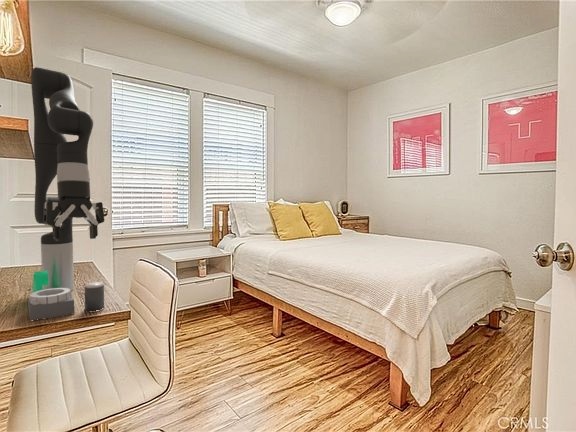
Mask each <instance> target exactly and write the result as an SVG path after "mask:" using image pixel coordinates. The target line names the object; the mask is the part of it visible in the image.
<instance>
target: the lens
mask: <svg viewBox="0 0 576 432" xmlns="http://www.w3.org/2000/svg"><path fill="white" fill-rule="evenodd" d="M102 308H104V309H105V284H104V282H102V281H101V282H97V281H95V282H89V283H86V284H84V312H86V311H87V312H86V313H90V312H89V311H96V310H100V309H102Z"/></svg>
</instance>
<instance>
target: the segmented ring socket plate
mask: <svg viewBox="0 0 576 432" xmlns="http://www.w3.org/2000/svg"><path fill="white" fill-rule="evenodd" d="M27 303H28V304H27V306H28V307H27V308H28V309H27V310H28V311H29V312H28V311H27V312H28V317H29V316H30V317H29V322H30V321H31V320H37V319H43V318H49V319H54V318H58V316H60V317H63V316H62V315H65V316H68V315H67V314H70V315H73V314H72V313H74V314H75V299H74V298H73V296H72V291H71V290H70V289H69V288H51V289H45V290H40V291H36V292H33V291H32V293H30V294H29V297H28V298H27ZM53 317H54V318H53ZM43 320H44V319H43Z"/></svg>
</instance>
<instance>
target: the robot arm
mask: <svg viewBox="0 0 576 432" xmlns="http://www.w3.org/2000/svg"><path fill="white" fill-rule="evenodd" d="M30 76H31V77H30V83H31V84H30V85H31V96H32V97H31V98H32V106H33V107H32V108H33V123H34V124H33V151H34V152H33V153H34V154H33V155H34V171H35V186H34V191H35V192H34V217H35V221H36V222H37V223H38V224H41V225H45V226H50V227H51V228H52V231H51V232H48V233H45V234H43V235H41V236H40V252H41V253H40V256H41V260H40V261H41V271H48V278H49V282H48V285H42V286H43V290H45V289H51V288H69V289H70V290H71V292H72V291H73V290H75V285H74V284H75V281H74V279H75V275H74V244H73V243H74V242H73V241H74V240H73V238H74V237H73V218H76V219H81V218H82V219H84V220H85V221H86V222H87V223H88V224H89V226H88V228H89V239H90V240H93V239H96V237H98V235H99V232H98V229H99V228H98V225H100V224H103V223H104V222H105V214H104V212H105V211H104V205H103V204H104V203H103V202H101V201H100V202H92V201H91V185H90V181H91V178H90V171H89V170H90V169H89V165H88V164H89V163H88V161H89V160H88V146H89V140H90V137H91V135H92V131H93V128H94V119H93V117H92V115H91V114H90V113H89V112H87V111H85V110H80V107H79V105H78V104H77V101H76V95H75V90H74V84H73V80H72V78H71V77H70V75H68V74H66V73H64V72H62V71H57V70H52V69H48V68H43V67H33V69H32V70H31V75H30ZM45 99H47V100H49V101H48V105H49V108H50V109H49V108H47V105H46V100H45ZM48 109H49V110H48ZM65 135H69V136H77V137H78V139H76V140H73V141H68V140H67V138H66V136H65ZM55 178H56V181H57V182H56V184H57V185H56V186H57V197H56V196H51V197H50V196H47V193H48V191H49V188H50V186H51V184H52V183H53V181H54V179H55ZM91 209H92V210H94V213H95V217H94V215H93V213H92V212H91Z"/></svg>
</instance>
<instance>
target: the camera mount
mask: <svg viewBox="0 0 576 432" xmlns="http://www.w3.org/2000/svg"><path fill="white" fill-rule="evenodd" d="M32 277H33V280H32V293H33V292H36V291H40V290H43V286H42V285H48V282H49V278H48V271H42V270H41V271H34V272H33V276H32Z"/></svg>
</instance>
